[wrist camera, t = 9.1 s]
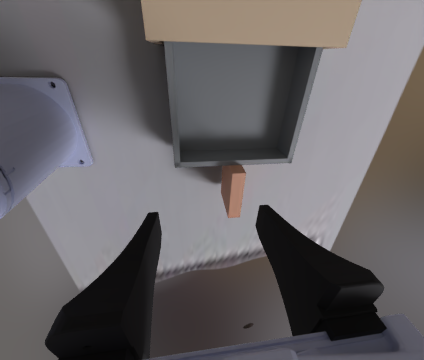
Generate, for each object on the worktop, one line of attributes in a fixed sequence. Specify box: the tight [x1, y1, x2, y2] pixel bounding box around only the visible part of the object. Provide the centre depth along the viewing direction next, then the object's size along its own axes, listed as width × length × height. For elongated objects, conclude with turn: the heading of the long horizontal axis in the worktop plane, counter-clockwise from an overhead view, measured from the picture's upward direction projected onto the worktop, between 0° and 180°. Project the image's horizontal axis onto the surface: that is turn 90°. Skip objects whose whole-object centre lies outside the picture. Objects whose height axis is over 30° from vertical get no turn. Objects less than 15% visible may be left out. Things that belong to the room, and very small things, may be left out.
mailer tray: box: [164, 41, 323, 218], centre depth 16 cm, size 20×11×4 cm, turn 178°
